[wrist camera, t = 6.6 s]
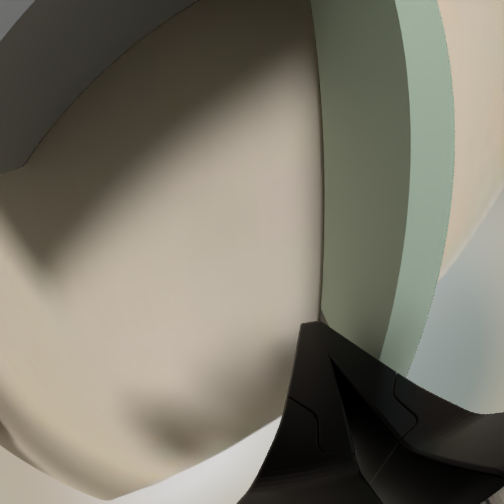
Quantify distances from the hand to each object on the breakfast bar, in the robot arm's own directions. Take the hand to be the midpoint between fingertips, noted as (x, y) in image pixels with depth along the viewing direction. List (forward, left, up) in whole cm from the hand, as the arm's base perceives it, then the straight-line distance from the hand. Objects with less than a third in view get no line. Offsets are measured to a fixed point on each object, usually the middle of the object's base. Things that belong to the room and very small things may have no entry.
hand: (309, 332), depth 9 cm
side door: (+3, +2, -3) cm, 5 cm away
